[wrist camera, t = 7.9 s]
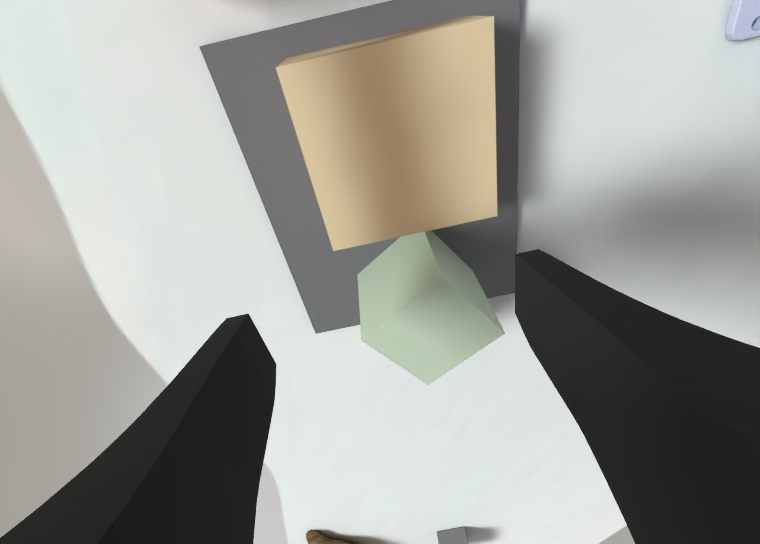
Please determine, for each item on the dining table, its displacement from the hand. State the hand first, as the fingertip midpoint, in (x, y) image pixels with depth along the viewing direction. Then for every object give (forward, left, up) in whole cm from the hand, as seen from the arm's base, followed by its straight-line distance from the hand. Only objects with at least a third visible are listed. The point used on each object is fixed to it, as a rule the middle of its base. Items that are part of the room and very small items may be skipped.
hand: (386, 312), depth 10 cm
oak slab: (-2, -2, -9) cm, 9 cm away
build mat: (-1, +1, -9) cm, 9 cm away
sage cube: (-1, +5, -9) cm, 11 cm away
